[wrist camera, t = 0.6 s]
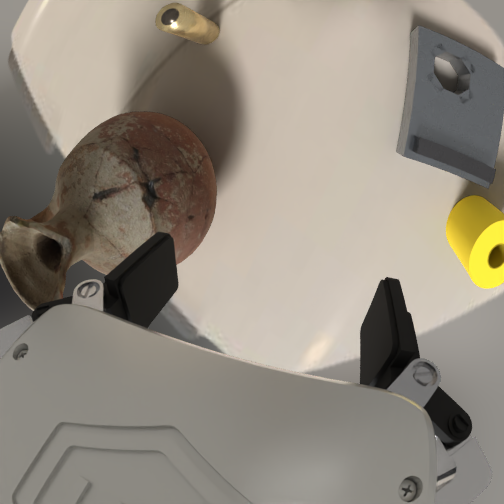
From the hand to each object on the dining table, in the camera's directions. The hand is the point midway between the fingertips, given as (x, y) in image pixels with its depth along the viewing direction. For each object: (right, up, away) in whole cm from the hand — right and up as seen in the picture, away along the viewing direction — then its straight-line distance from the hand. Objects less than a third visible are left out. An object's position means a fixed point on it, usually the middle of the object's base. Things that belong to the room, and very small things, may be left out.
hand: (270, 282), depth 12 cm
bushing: (-7, +33, +17) cm, 37 cm away
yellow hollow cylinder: (+33, +5, +20) cm, 39 cm away
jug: (-13, +14, +30) cm, 36 cm away
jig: (+26, +21, +13) cm, 36 cm away
